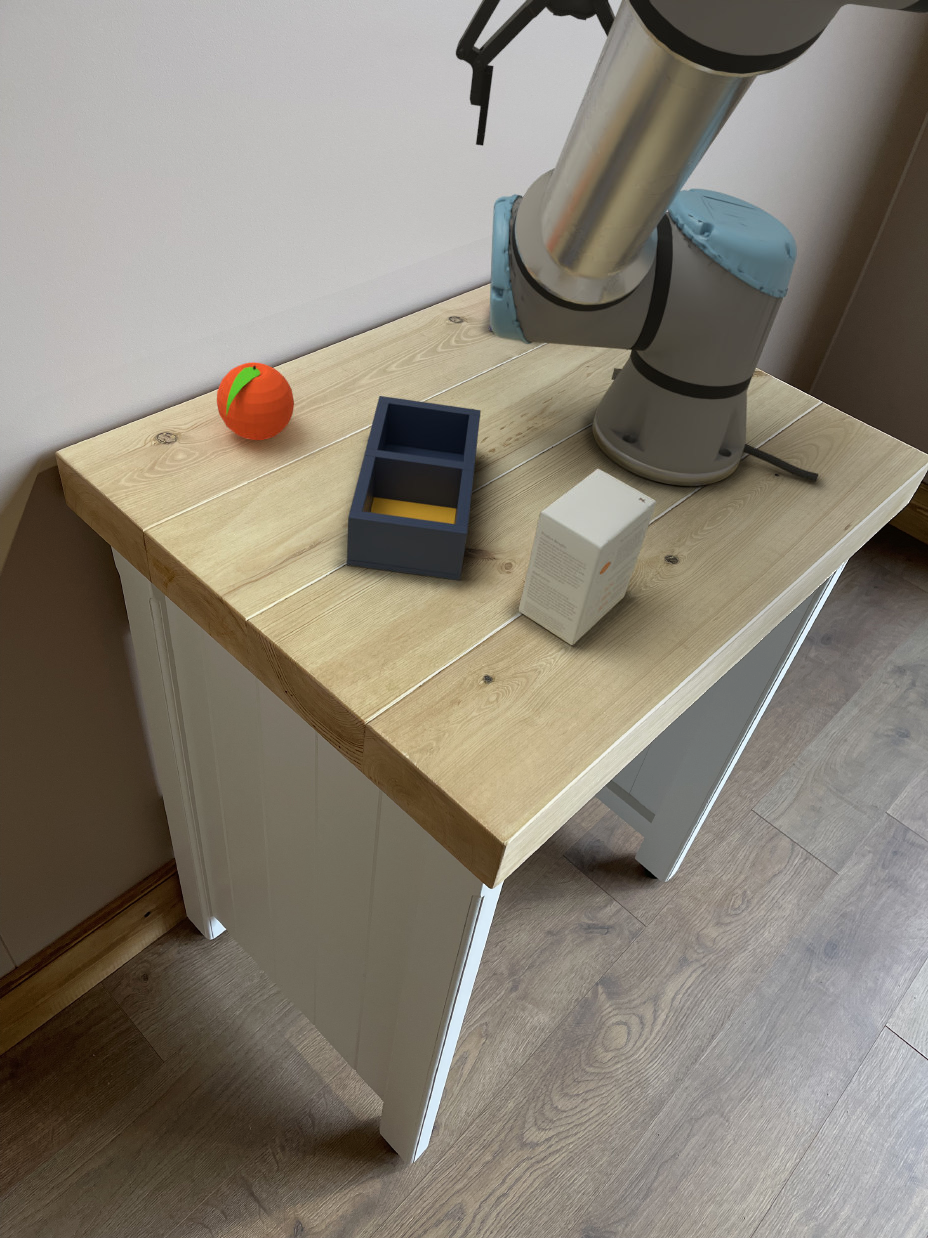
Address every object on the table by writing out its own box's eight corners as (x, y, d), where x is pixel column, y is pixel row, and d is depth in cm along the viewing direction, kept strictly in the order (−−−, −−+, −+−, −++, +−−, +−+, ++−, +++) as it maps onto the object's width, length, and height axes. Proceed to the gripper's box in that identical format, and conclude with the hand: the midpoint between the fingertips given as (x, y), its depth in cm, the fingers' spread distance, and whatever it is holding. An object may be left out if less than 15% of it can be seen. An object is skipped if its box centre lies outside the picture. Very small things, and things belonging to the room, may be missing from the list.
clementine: (262, 470, 83) (259, 401, 78) (197, 445, 84) (190, 376, 79) (308, 427, 88) (308, 361, 83) (246, 404, 90) (242, 338, 85)
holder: (376, 441, 88) (379, 395, 84) (473, 455, 88) (480, 409, 85) (346, 565, 75) (348, 517, 72) (459, 580, 76) (467, 533, 72)
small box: (571, 565, 79) (598, 465, 71) (625, 598, 77) (659, 499, 69) (515, 611, 74) (538, 509, 66) (571, 648, 72) (602, 547, 64)
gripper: (728, -95, 82) (663, 155, 97) (450, -141, 81) (428, 119, 96) (739, -80, 77) (669, 182, 92) (443, -129, 76) (421, 144, 91)
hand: (546, 150), depth 94 cm, fingers open, 13 cm apart
